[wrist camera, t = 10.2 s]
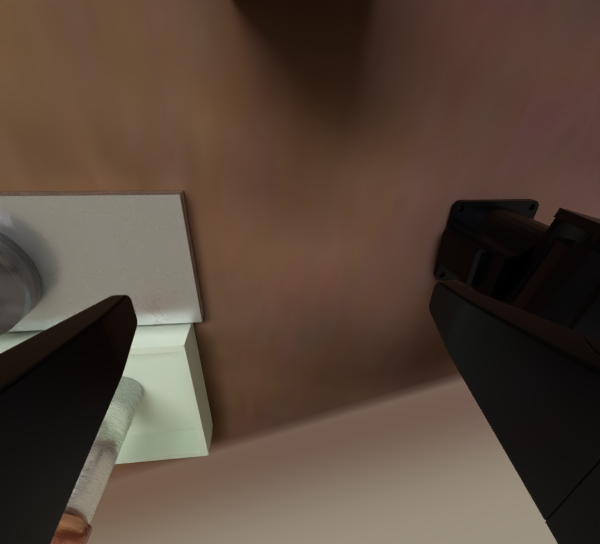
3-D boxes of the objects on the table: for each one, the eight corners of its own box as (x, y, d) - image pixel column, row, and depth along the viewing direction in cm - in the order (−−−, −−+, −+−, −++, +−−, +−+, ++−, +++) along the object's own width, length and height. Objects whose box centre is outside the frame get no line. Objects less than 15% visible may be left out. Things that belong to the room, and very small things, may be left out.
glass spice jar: (126, 367, 26) (30, 551, 15) (157, 396, 28) (91, 575, 17) (85, 384, 26) (-35, 573, 16) (118, 410, 28) (32, 593, 18)
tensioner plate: (183, 190, 20) (160, 215, 15) (204, 314, 25) (191, 359, 20) (-132, 192, 18) (-259, 222, 14) (-42, 325, 23) (-113, 378, 18)
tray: (192, 319, 25) (183, 345, 22) (213, 426, 32) (208, 455, 29) (5, 328, 23) (-28, 357, 21) (69, 438, 30) (51, 469, 28)
